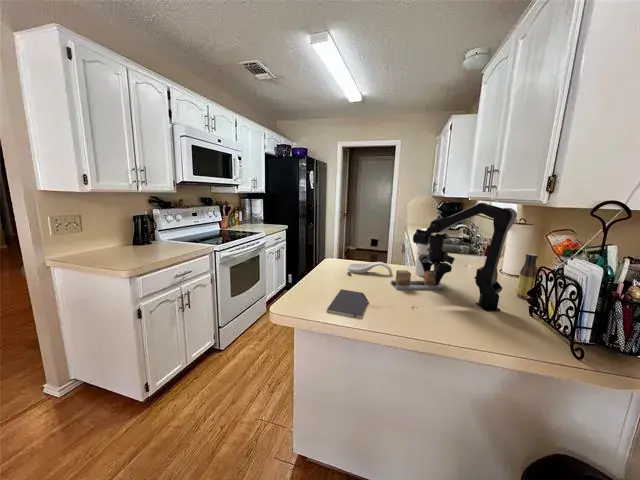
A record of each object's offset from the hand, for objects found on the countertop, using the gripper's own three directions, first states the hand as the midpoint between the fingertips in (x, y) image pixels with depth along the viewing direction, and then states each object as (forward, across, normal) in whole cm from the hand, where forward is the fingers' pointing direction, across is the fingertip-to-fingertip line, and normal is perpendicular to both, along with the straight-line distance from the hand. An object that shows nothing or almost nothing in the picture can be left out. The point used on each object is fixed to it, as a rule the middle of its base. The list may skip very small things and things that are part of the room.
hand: (431, 280), depth 126 cm
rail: (+4, 0, +7) cm, 8 cm away
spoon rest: (+5, +21, +23) cm, 32 cm away
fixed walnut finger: (+3, 0, +14) cm, 14 cm away
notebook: (+5, -15, +41) cm, 44 cm away
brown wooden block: (+3, 0, 0) cm, 3 cm away
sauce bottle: (+5, -9, -39) cm, 40 cm away
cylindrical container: (+4, +18, -4) cm, 19 cm away
